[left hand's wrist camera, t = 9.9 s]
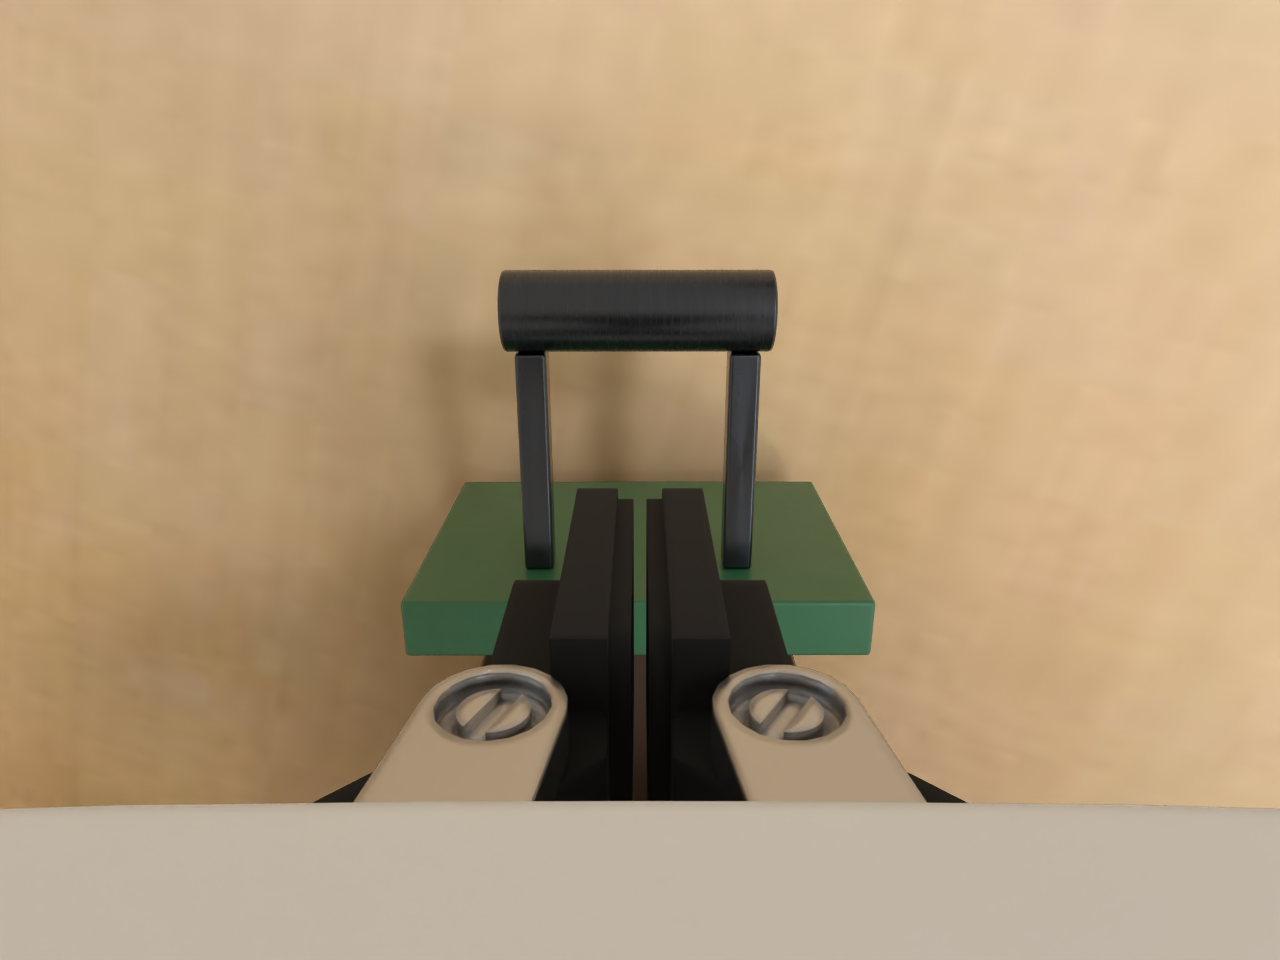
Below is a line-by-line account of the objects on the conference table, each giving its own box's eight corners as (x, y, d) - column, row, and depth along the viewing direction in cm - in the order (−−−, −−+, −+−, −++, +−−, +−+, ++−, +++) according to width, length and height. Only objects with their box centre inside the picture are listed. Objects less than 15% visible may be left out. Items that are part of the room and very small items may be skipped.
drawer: (447, 244, 21) (366, 283, 15) (828, 244, 21) (909, 281, 15) (496, 915, 29) (455, 1133, 22) (781, 914, 29) (822, 1133, 22)
